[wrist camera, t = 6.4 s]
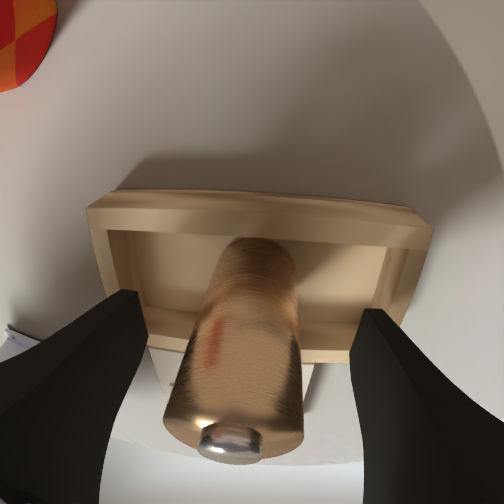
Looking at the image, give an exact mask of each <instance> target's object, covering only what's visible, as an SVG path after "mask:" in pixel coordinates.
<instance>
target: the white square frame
mask: <svg viewBox="0 0 504 504" xmlns="http://www.w3.org/2000/svg"><path fill="white" fill-rule="evenodd" d="M149 351H150V354H151V357H152V361H153V364H154V367H155V370H156V373H157V376H158V379H159V382H160V385H161V387H162V390H163V393H164V396H165V398H166V401H167V404H168V401H169V398H170V395H171V392H172V389H173V386H174V383H175V380H176V377H177V374H178V371H179V368H180V365H181V362H182V359H183V356H184V353H185V352H184V351H178V350H171V349H165V348H159V347H153V346H149ZM313 368H314V363H313V362H302V383H303V401H304V397H305V394H306V391H307V388H308V385H309V382H310V378H311V375H312V372H313Z"/></svg>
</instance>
